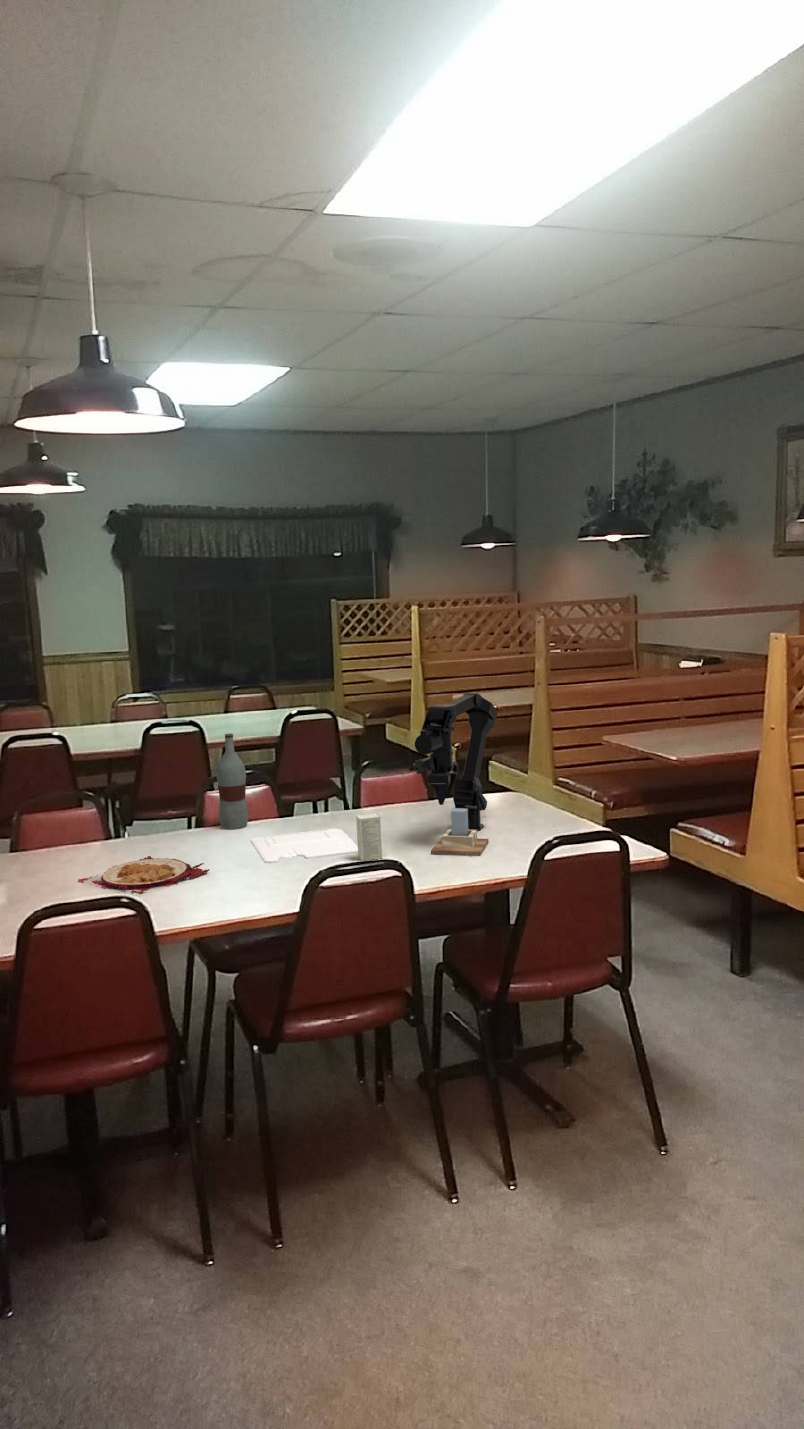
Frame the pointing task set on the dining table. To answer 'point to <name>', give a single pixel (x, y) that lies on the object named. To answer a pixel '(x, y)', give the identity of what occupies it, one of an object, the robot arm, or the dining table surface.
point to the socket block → (460, 844)
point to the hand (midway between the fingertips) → (444, 800)
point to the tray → (304, 845)
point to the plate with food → (147, 874)
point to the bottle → (232, 788)
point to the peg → (459, 822)
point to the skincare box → (369, 836)
